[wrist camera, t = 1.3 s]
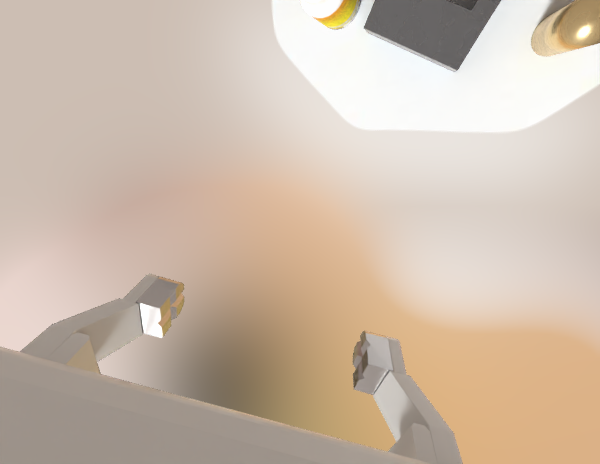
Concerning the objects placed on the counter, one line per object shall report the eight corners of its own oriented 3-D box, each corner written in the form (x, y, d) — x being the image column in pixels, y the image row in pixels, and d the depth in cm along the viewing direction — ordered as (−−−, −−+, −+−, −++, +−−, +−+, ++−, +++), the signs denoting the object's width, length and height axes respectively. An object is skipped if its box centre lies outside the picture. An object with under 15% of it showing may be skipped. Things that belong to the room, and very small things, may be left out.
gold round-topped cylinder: (552, 4, 29) (599, -26, 21) (590, 19, 28) (651, -6, 21) (521, 47, 31) (554, 34, 23) (556, 62, 30) (600, 53, 23)
